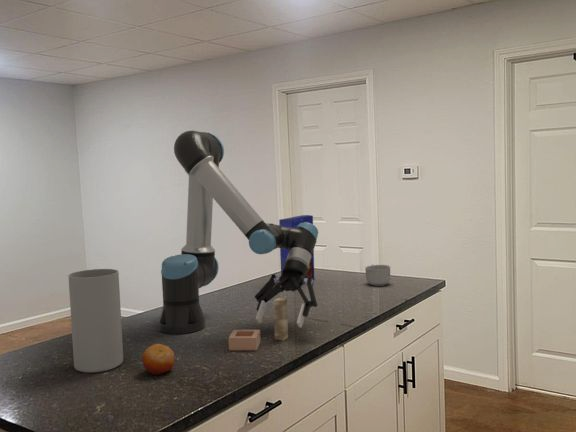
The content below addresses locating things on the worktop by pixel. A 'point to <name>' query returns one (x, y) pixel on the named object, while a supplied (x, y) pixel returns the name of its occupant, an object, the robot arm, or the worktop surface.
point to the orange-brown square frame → (244, 340)
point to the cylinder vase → (96, 320)
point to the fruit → (158, 359)
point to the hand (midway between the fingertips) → (278, 323)
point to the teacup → (378, 274)
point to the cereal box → (292, 223)
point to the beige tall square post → (280, 319)
